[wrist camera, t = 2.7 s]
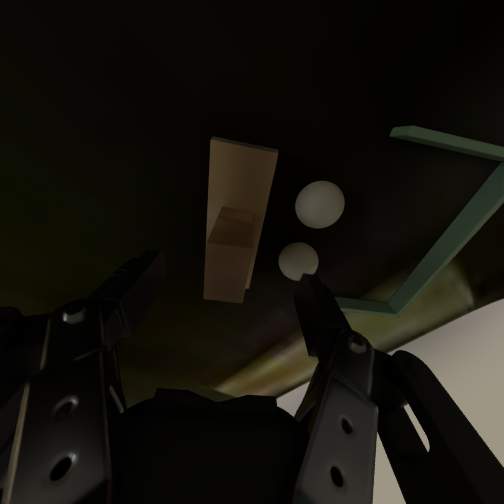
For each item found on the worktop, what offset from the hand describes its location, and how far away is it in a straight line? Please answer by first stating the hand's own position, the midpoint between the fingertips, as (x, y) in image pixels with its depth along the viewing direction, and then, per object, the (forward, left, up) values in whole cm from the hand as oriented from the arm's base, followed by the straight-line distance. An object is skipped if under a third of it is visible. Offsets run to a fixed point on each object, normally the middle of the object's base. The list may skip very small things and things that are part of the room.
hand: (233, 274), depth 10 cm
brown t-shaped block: (0, 0, -9) cm, 9 cm away
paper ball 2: (+7, +3, -7) cm, 10 cm away
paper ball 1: (+7, -3, -7) cm, 10 cm away
